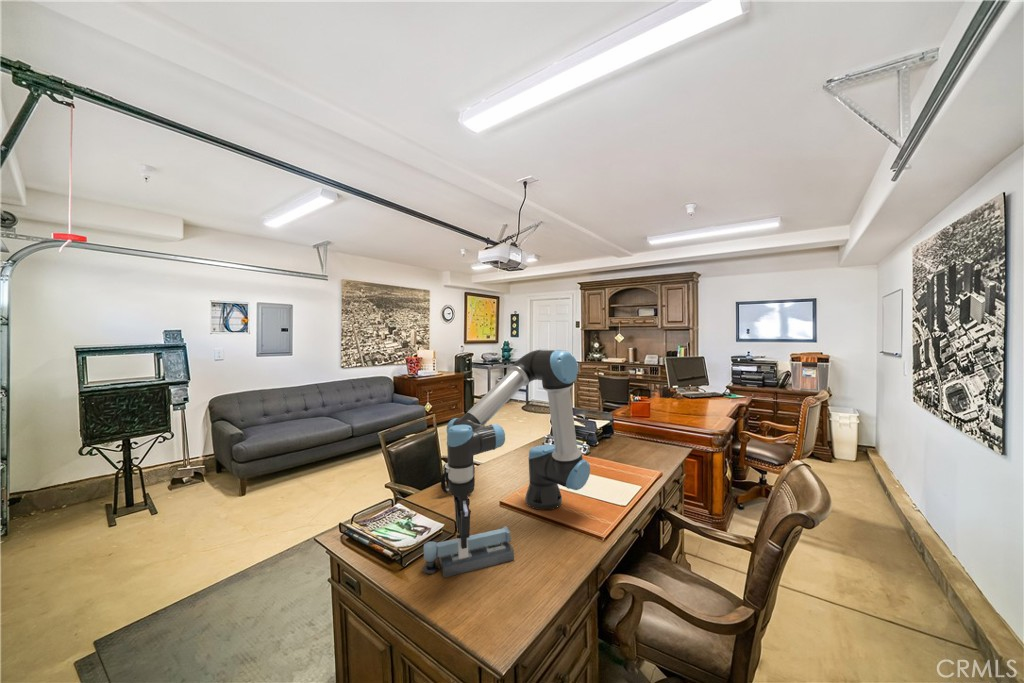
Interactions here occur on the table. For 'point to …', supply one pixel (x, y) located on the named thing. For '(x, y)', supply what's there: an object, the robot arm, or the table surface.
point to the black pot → (445, 478)
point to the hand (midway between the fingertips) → (463, 556)
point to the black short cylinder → (430, 567)
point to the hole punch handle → (474, 541)
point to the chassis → (476, 559)
